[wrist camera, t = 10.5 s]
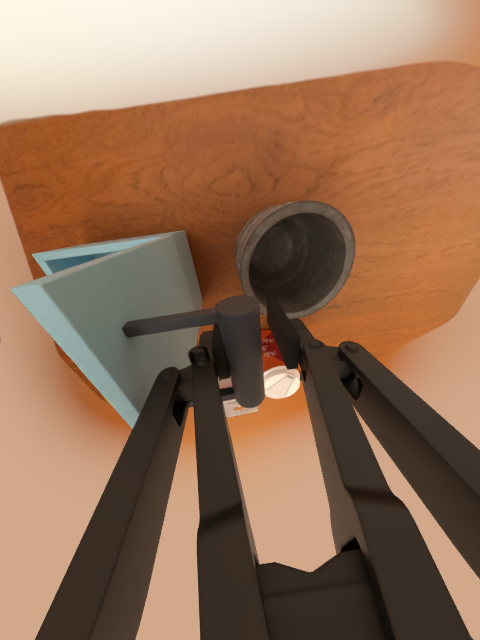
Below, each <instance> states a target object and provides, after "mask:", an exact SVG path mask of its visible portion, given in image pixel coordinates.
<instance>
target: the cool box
mask: <svg viewBox="0 0 480 640" xmlns="http://www.w3.org/2000/svg"><path fill="white" fill-rule="evenodd" d="M168 235H173V237H174V241H175V244H176V247H177V251H178V254H179V258H180V261H181V265H182V268H183V271H184V275H185V278H186V282H187V285H188V289H189V292H190V295H191V299H192V302H193V306H194V309H195V311H197V310H201V306H202V302H203V299H202V295H201V291H200V287H199V283H198V279H197V275H196V271H195V267H194V263H193V259H192V255H191V251H190V248H189V244H188V240H187V236H186V232H185V230H182V231H174V232H167V233H160V234H153V235H146V236H138V237H131V238H124V239H117V240H109V241H102V242H95V243H88V244H82V245H77V246H71V247H66V248H61V249H56V250H50V251H45V252H40V253H35V254H32V256H33V257H34V259H35V260H36V261H37V263H38V264H39V266H40V267H41V268H42V270H43V271H44V272H45V274H46V275H47V276H48V275H51V274H54V273H57V272H60V271H62V270H65V269H68V268H71V267H74V266H77V265H80V264H83V263H86V262H89V261H92V260H95V259H98V258H101V257H104V256H107V255H110V254H113V253H116V252H119V251H122V250H125V249H128V248H131V247H134V246H137V245H140V244H143V243H146V242H149V241H152V240H154V239H157V238H160V237H163V236H168Z"/></svg>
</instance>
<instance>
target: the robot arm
mask: <svg viewBox="0 0 480 640" xmlns="http://www.w3.org/2000/svg"><path fill="white" fill-rule="evenodd" d="M216 306H217V304H216ZM266 307H267V322H268V325H269V327H270V329H271V332H272V334H273V337H274V339H275V342H276V344H277V346H278V349H279V351H280V354H281V356H282V359H283V361H284V363H285V366H286V368H287V370H290V369H297V368H298V363H299V365H300V367H301V372H300V381H301V380H302V382H303V387H304V391H305V395H306V400H307V405H308V409H309V414H310V419H311V423H312V427H313V432H314V437H315V442H316V446H317V450H318V455H319V460H320V465H321V469H322V474H323V478H324V483H325V488H326V492H327V497H328V501H329V506H330V517H331V528H332V533H333V539H334V543H335V548H336V553H337V555H335V556H334V557H333V558H331V559H330V560H328V561H327V562H325V563H324V564H323V565H321V566H320V567H319V568H317V569H316V570H314V571H313V572H306V571H302V570H299V569H296V568H292V567H289V566H286V565H282V564H279V563H276V562H273V563H267V564H259V560H258V555H257V551H256V547H255V542H254V538H253V534H252V530H251V526H250V522H249V517H248V513H247V508H246V504H245V500H244V495H243V490H242V486H241V481H240V477H239V472H238V468H237V463H236V459H235V455H234V450H233V445H232V441H231V436H230V432H229V427H228V423H227V418H226V414H225V409H224V405H223V400H222V396H221V391H220V387H219V383H218V377H219V380H220V379H227V378H230V373H229V368H228V364H227V359H226V355H225V350H224V345H223V341H222V336H221V332H220V327H219V323H217V324H214V328H213V331H207V332H203V333H202V335H201V336H200V341H199V345H197V346H195V347H193V348H191V349H190V350H189V352H188V357H189V360H190V362H191V365H189V366H188V367H185V368H183V369H180V370H178V368H176V367H168V368H165V369H164V370H162V371H161V372H160V373H159V374H158V376H157V378H156V380H155V382H154V384H153V386H152V388H151V391H150V393H149V395H148V397H147V399H146V401H145V403H144V406H143V408H142V410H141V412H140V414H139V416H138V419H137V421H136V423H135V425H134V427H133V429H132V432H131V434H130V436H129V438H128V440H127V442H126V444H125V447H124V449H123V451H122V453H121V455H120V457H119V460H118V462H117V464H116V466H115V468H114V470H113V472H112V475H111V477H110V479H109V481H108V483H107V485H106V488H105V490H104V492H103V494H102V496H101V498H100V501H99V503H98V505H97V507H96V509H95V511H94V514H93V516H92V518H91V520H90V522H89V524H88V526H87V529H86V531H85V533H84V535H83V537H82V539H81V542H80V544H79V546H78V548H77V550H76V552H75V555H74V557H73V559H72V561H71V563H70V565H69V567H68V569H67V572H66V574H65V576H64V578H63V580H62V582H61V585H60V587H59V589H58V591H57V593H56V595H55V598H54V600H53V602H52V604H51V606H50V609H49V610H48V613H47V615H46V617H45V619H44V621H43V623H42V626H41V628H40V630H39V632H38V634H37V636H36V639H35V640H135V639H136V635H137V632H138V629H139V625H140V621H141V617H142V613H143V609H144V606H145V602H146V598H147V593H148V589H149V584H150V580H151V575H152V571H153V566H154V562H155V557H156V553H157V548H158V544H159V539H160V535H161V530H162V526H163V521H164V517H165V512H166V508H167V503H168V499H169V494H170V490H171V485H172V480H173V476H174V471H175V467H176V463H177V458H178V454H179V449H180V445H181V440H182V435H183V431H184V427H185V422H186V418H187V413H188V408H189V404H190V400H191V399H193V405H194V422H195V439H196V458H197V476H198V493H199V510H200V522H199V528H198V532H197V567H198V589H199V590H198V591H199V615H200V640H473V638H472V637H471V636H470V635H469V632H468V630H467V628H466V626H465V624H464V622H463V620H462V618H461V616H460V614H459V612H458V610H457V608H456V605H455V604H454V601H453V599H452V597H451V595H450V593H449V591H448V589H447V587H446V585H445V583H444V581H443V579H442V576H441V575H440V572H439V570H438V568H437V566H436V564H435V562H434V560H433V558H432V556H431V554H430V552H429V550H428V547H427V545H426V543H425V541H424V539H423V537H422V535H421V533H420V531H419V529H418V527H417V525H416V523H415V521H414V519H413V517H412V515H411V514H410V512H409V510H408V508H407V507H406V506H405V504H404V503H403V502H402V501H401V500H400V499H399V498H397V497H396V496H395V495H394V494H393V493H392V491H391V490H390V488H389V486H388V485H387V482H386V480H385V477H384V475H383V473H382V471H381V469H380V467H379V464H378V462H377V460H376V457H375V455H374V453H373V451H372V449H371V446H370V444H369V442H368V440H367V437H366V435H365V433H364V431H363V428H362V426H361V424H360V422H359V419H358V417H357V415H356V413H355V410H354V408H355V409H356V410H357V412H358V413H359V415H360V416H361V417H362V419H363V420H364V421H365V423H366V424H367V426H368V427H369V428H370V430H371V431H372V433H373V434H374V435H375V437H376V438H377V440H378V441H379V442H380V444H381V445H382V446H383V448H384V449H385V451H386V452H387V453H388V455H389V456H390V457H391V459H392V460H393V462H394V463H395V464H396V466H397V467H398V469H399V470H400V471H401V473H402V474H403V475H404V477H405V478H406V480H407V481H408V482H409V484H410V485H411V486H412V488H413V489H414V491H415V492H416V493H417V495H418V496H419V498H420V499H421V500H422V502H423V503H424V504H425V506H426V507H427V509H428V510H429V511H430V513H431V514H432V516H433V517H434V518H435V520H436V521H437V523H438V524H439V525H440V527H441V528H442V529H443V531H444V532H445V533H446V535H447V536H448V538H449V539H450V540H451V542H452V543H453V545H454V546H455V547H456V548H457V550H458V551H459V552H460V554H461V555H462V557H463V558H464V559H465V561H466V562H467V563H468V564H469V566H470V567H471V568H472V570H473V571H474V572H475V574H476V575H477V576H478V577H479V579H480V450H479V449H478V448H477V447H475V446H474V445H473V444H472V443H471V442H470V441H469V440H467V439H466V438H465V437H464V436H463V435H462V434H461V433H460V432H458V431H457V430H456V429H455V428H454V427H453V426H452V425H450V424H449V423H448V422H447V421H446V420H445V419H444V418H443V417H441V416H440V415H439V414H438V413H437V412H436V411H435V410H434V409H432V408H431V407H430V406H429V405H428V404H427V403H426V402H424V401H423V400H422V399H421V398H420V397H419V396H418V395H416V393H414V392H413V391H412V390H411V389H410V388H409V387H408V386H406V385H405V384H404V383H403V382H402V381H401V380H400V379H398V378H397V377H396V376H395V375H394V374H393V373H392V372H391V371H390V370H388V369H387V368H386V367H385V366H384V365H383V364H382V363H380V362H379V361H378V360H377V359H376V358H375V357H374V356H373V355H371V354H370V353H369V352H368V351H367V350H366V349H365V348H364V347H362V346H361V345H359V344H358V343H355V342H351V341H344V342H341V343H340V345H339V347H332V346H325V344H324V343H323V342H321V341H320V340H317V339H315V338H314V337H313V336H312V334H311V333H310V332H309V330H308V329H307V328H306V326H305V325H304V324H303V322H302V321H300V320H299V319H297V318H295V319H288V317H287V316H286V314H285V312H284V311H283V309H282V308H281V306H280V304H279V303H278V301H277V300H276V298H275V297H274V296H269V297H266ZM352 405H353V406H354V408H353V406H352Z"/></svg>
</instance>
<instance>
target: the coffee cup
mask: <svg viewBox="0 0 480 640" xmlns="http://www.w3.org/2000/svg"><path fill="white" fill-rule="evenodd" d="M261 342H262V357H263V372H264V388H265V395H266V396H268V397H270V398H275V399H279V398H285V397H288V396H290V395H292V394H293V393H295V392H296V391H297V390H298V388H299V386H300V374H299V372H298V371H297V370H296V369H290V370H287V368H286V366H285V363H284V361H283V359H282V356H281V354H280V351H279V349H278V346H277V344H276V342H275V339H274V337H273V334H272V332H271V330H261Z"/></svg>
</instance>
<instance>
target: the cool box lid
mask: <svg viewBox="0 0 480 640" xmlns="http://www.w3.org/2000/svg"><path fill="white" fill-rule="evenodd" d="M11 291H12V292H13V294H14V295H15V296H16V297H17V298H18V299H19V300H20V301H21V303H22V304H23V305H24V306H25V307H26V308H27V309H28V311H29V312H30V313H31V314H32V315H33V316H34V317H35V318H36V320H37V321H38V322H39V323H40V324H41V325H42V327H43V328H44V329H45V330H46V331H47V332H48V333H49V334H50V336H51V337H52V338H53V339H54V340H55V341H56V342H57V344H58V345H59V346H60V347H61V348H62V349H63V350H64V352H65V353H66V354H67V355H68V356H69V357H70V358H71V360H72V361H73V362H74V363H75V364H76V365H77V366H78V368H79V369H80V370H81V371H82V372H83V373H84V374H85V376H86V377H87V378H88V379H89V380H90V381H91V382H92V384H93V385H94V386H95V387H96V388H97V389H98V390H99V391H100V393H101V394H102V395H103V396H104V397H105V398H106V399H107V401H108V402H109V403H110V404H111V405H112V406H113V407H114V409H115V410H116V411H117V412H118V413H119V414H120V415H121V417H122V418H123V419H124V420H125V421H126V422H127V423H128V425H129V426H130V427H131V428H132V429H133V427H134V425H135V423H136V421H137V419H138V416H139V414H140V412H141V410H142V408H143V406H144V403H145V401H146V399H147V397H148V395H149V393H150V391H151V388H152V386H153V384H154V382H155V380H156V378H157V376H158V374H159V373H160V372H161V371H162V370H164V369H165V368H168V367H176V368H178V370H180V369H183V368H185V367H188V366H189V365H191V362H190V360H189V357H188V352H189V350H190V349H191V348H193V347H195V346H196V343H197V337H198V331H199V326H204V325H211V324H217V323H219V327H220V332H221V336H222V341H223V345H224V350H225V355H226V359H227V364H228V368H229V373H230V378H231V382H232V387H227V388H221V389H220V391H221V396H222V400H223V401H227V400H233V399H235V400H236V401H237V403H238V404H239V405H240V406H242V407H245V408H254V407H257V406H258V405H259V404H261V403H262V401H263V400H264V397H265V388H264V372H263V357H262V342H261V326H260V311H259V302H258V300H257V299H255V298H254V297H251V296H233V297H229V298H226V299H224V300H222V301H220V302H219V303H218V304H217V306H216V308H210V309H204V310H197V311H195V309H194V306H193V302H192V299H191V295H190V292H189V289H188V285H187V282H186V278H185V275H184V271H183V268H182V265H181V261H180V258H179V254H178V251H177V247H176V244H175V241H174V237H173V235H168V236H163V237H160V238H157V239H154V240H152V241H149V242H146V243H143V244H140V245H137V246H134V247H131V248H128V249H125V250H122V251H119V252H116V253H113V254H110V255H107V256H104V257H101V258H98V259H95V260H92V261H89V262H86V263H83V264H80V265H77V266H74V267H71V268H68V269H65V270H62V271H60V272H57V273H54V274H51V275H48V276H45V277H42V278H39V279H36V280H33V281H30V282H27V283H24V284H21V285H18V286H15V287H12V288H11ZM189 407H194V405H193V399H191V400H190V404H189Z"/></svg>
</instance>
